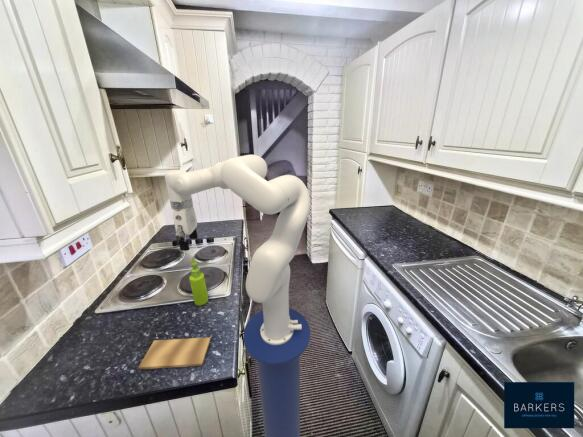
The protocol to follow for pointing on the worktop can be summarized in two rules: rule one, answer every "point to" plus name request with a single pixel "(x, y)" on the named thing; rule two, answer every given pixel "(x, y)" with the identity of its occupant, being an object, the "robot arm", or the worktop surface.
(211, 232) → the worktop surface
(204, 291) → the soap dispenser
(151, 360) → the chopping board
